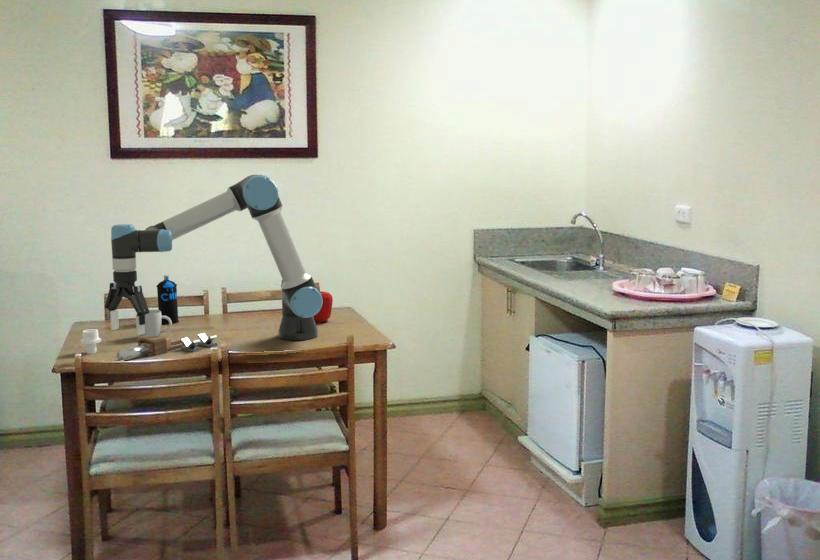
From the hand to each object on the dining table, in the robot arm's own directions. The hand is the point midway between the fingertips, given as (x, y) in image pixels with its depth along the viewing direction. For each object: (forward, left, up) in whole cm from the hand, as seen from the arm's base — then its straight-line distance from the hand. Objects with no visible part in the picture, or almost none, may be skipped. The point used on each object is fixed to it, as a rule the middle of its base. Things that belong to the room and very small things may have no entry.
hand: (127, 331), depth 267 cm
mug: (+18, -26, -10) cm, 33 cm away
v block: (-9, -23, -9) cm, 27 cm away
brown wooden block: (0, -11, -10) cm, 15 cm away
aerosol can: (+35, -47, -10) cm, 60 cm away
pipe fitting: (+18, +2, -10) cm, 21 cm away
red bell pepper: (-18, -82, -10) cm, 85 cm away
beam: (0, -16, -9) cm, 19 cm away
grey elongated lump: (0, -1, -10) cm, 10 cm away
